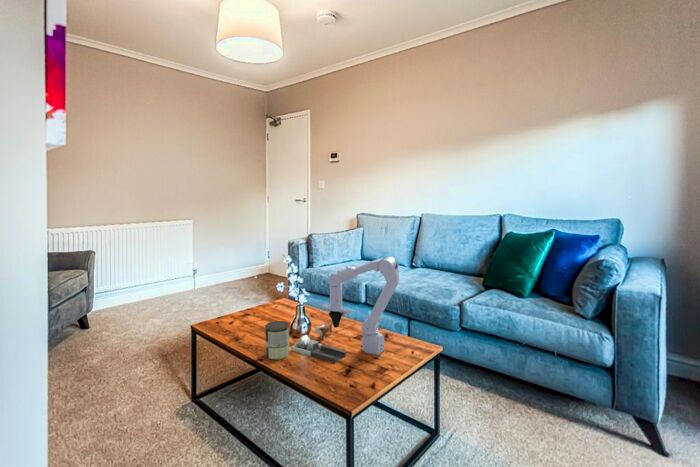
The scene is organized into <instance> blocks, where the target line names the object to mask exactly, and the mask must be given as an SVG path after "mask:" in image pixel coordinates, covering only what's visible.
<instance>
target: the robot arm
mask: <svg viewBox="0 0 700 467" xmlns="http://www.w3.org/2000/svg"><path fill="white" fill-rule="evenodd" d="M371 271H374V272H376V273H378V272H379V273H380V274H381V275H382V276H383V277H384V279H385V281H386V283H385V285H384V286H383V289H382V291H381V293H380V295H379V296H378V298H377V300H376V302H375V304H374V306H373V308H372V309H371V312H370V314H369V315H368V316H367V317H366V319H365V320H364V321H363V322H362V324H361V326H360V329H361V332H362V351H363V353H366V354H373V355H377V356H379V355H380V354H382V353H383V352H384V351H385V336H384V334H382V333H380V332H379V326H380V324H381V318H382V315H383V313H384V311H385V309H386V307H387V306H388V303H389V301H390V300H391V298H392V296H393V294H394V292H395V291H396V288H397V287H398V284H399V282H400V276H399V264H398V262H397V259H395V258H394V257H393V256H386V257H381V258H377V259H374V260H372V261H369V262H366V263H364V264H362V265H360V266H356V267H355V266H349V265H347V266H346V267H345V268H344V269H342V270H340V269H338V270H336V271H335V272H333V273H331V274H330V275H329V276H328V277H327V282H328V284H329V304H322V306H321V307H322V310H326V311H329V312H328V316H329V317H330V319H331V321H332V322H331V323H332V327H333V328H335V329H336V328H338V327H339V325H340V321H341V318H342V317H343V315H346V316H349V315H351V309H348V308H347V307H343V284H344V283H347V282H349V281H353V280H356V279H357V277H358V275H361V274H365V273H367V272H371Z"/></svg>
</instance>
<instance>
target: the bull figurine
mask: <svg viewBox="0 0 700 467" xmlns="http://www.w3.org/2000/svg"><path fill="white" fill-rule="evenodd" d="M332 328H333V322H331V321H330V320H328V321H326V322H324V323H323V324H321V325H316V326H315V329H314V330H313V332H314V333H317V334H319V336H320V339H322V338H323V340H324V341H325V340H326V335H327V333H329V332H330V335H332V334H333V333H332V332H333V330H332Z"/></svg>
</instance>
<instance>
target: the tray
mask: <svg viewBox="0 0 700 467" xmlns="http://www.w3.org/2000/svg"><path fill="white" fill-rule="evenodd" d="M321 345H323V344H321V343H319V349H320V346H321ZM291 351H293V352H297V353H298V354H299V353H300V354H303V355H305V356H309V357H312V356H311V352H310V351H307V350H306V349H304V348H303V349H301V348H300V347H299V345H298V344H297V343H295V344H294V345H292V346H291Z"/></svg>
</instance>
